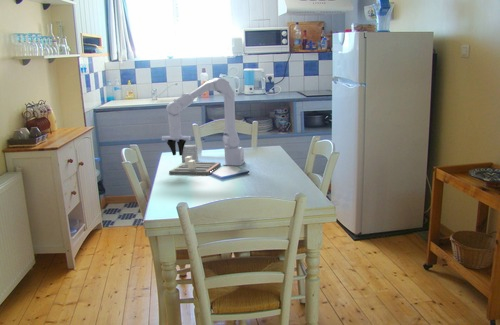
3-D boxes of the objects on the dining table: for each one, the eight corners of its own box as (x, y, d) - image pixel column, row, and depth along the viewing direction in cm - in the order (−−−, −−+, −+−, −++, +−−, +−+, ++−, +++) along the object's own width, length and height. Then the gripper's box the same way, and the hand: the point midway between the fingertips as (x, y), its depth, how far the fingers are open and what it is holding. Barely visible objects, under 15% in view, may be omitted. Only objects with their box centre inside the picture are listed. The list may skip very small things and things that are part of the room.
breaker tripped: (196, 167, 224) (195, 159, 223) (193, 169, 220) (192, 161, 219) (191, 167, 224) (190, 159, 224) (188, 169, 221) (187, 161, 220)
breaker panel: (220, 165, 232) (220, 161, 232) (208, 175, 215) (207, 170, 215) (184, 165, 238) (183, 160, 237) (169, 174, 221) (168, 169, 220)
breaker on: (192, 163, 233) (192, 156, 232) (189, 165, 229) (189, 157, 228) (188, 163, 233) (187, 155, 232) (185, 165, 230) (184, 157, 229)
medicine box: (198, 160, 247) (197, 144, 245) (196, 162, 242) (195, 146, 240) (184, 160, 248) (182, 145, 246) (182, 162, 243) (180, 146, 241)
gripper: (157, 128, 218) (160, 156, 221) (185, 128, 214) (188, 157, 217) (164, 126, 224) (166, 153, 227) (191, 126, 220) (194, 153, 223)
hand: (177, 155), depth 223 cm, fingers open, 3 cm apart
